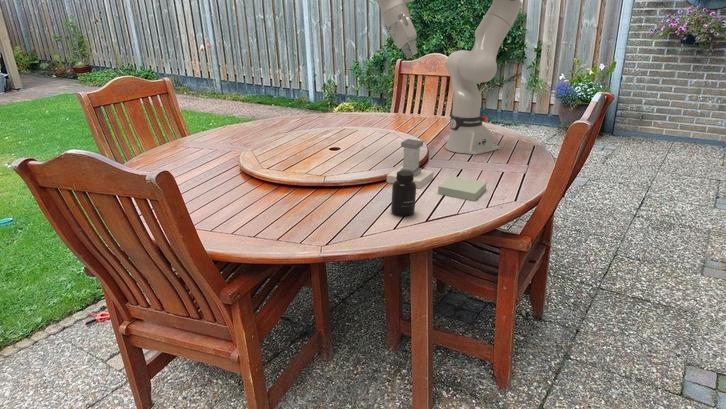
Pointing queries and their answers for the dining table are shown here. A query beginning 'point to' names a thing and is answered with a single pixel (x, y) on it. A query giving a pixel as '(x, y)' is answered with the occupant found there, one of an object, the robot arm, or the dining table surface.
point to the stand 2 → (462, 188)
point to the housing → (411, 156)
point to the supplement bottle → (403, 194)
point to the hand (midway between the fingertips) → (412, 56)
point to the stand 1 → (419, 179)
